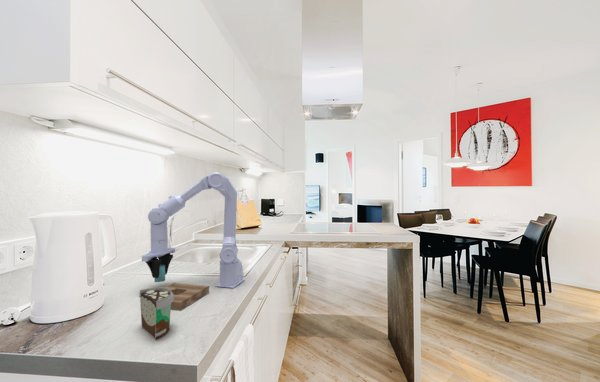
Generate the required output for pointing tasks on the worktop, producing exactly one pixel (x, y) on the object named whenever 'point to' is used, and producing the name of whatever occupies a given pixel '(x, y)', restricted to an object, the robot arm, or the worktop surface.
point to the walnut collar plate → (186, 294)
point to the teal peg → (161, 274)
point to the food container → (156, 311)
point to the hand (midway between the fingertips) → (159, 275)
